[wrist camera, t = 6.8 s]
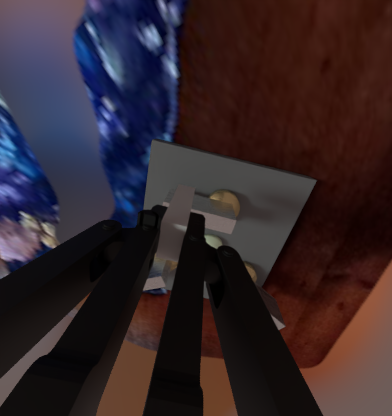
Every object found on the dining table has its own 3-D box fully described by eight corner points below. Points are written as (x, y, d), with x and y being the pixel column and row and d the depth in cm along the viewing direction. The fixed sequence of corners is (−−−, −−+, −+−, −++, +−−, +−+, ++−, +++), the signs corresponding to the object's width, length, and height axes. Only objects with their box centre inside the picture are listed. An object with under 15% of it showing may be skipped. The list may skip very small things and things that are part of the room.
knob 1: (173, 241, 29) (166, 266, 24) (183, 263, 30) (177, 292, 25) (120, 253, 30) (101, 279, 25) (131, 273, 32) (116, 302, 27)
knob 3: (221, 272, 30) (223, 302, 25) (241, 256, 29) (248, 285, 24) (258, 302, 33) (267, 335, 27) (279, 289, 31) (293, 322, 26)
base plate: (156, 138, 25) (149, 140, 22) (309, 176, 26) (321, 183, 23) (138, 273, 35) (131, 287, 32) (248, 298, 36) (252, 314, 33)
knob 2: (243, 194, 25) (251, 212, 20) (232, 222, 27) (237, 246, 22) (174, 176, 24) (165, 190, 19) (168, 206, 26) (158, 226, 21)
